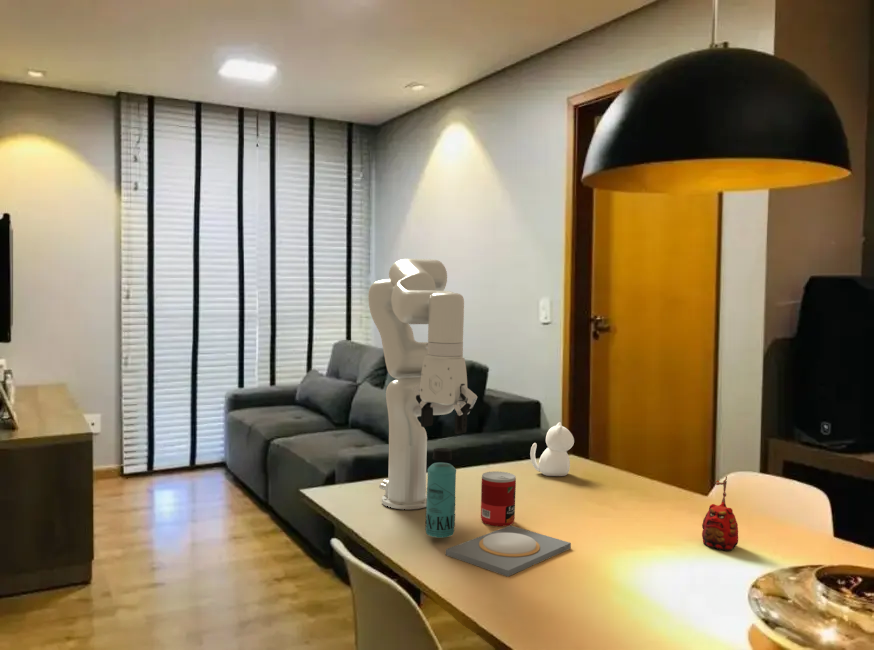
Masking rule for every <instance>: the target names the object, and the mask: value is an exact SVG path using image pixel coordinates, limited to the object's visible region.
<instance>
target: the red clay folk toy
mask: <svg viewBox="0 0 874 650" xmlns="http://www.w3.org/2000/svg"><path fill="white" fill-rule="evenodd" d="M727 479H728V476H727V475H725V478H724V480H723V482H721V481H720V480H716V481H715V482H716V484H715V485H716V486H720V485H722V486H723V492H722V496H723V497H722V500H721V503H720V504H719V505H718V504H715V503H712V504H710V505H709V508H708V511H707V512H706V513H705V516H704V518H703V521H702V523H701V526H702V532H701V537H702V543H703V545H706V546H707V547H711V548H715V549H716V550H718V551H726V552H727V551H728V552H731V551H732V550H733V549H734V548H736V547H737V546H738V543H739V527H738V526H739V525H738V521H737V519H736V515H735V514H734V512H733V508H731V507H727V505H726V497H727V493H726V489H727V484H728V483H727V482H728V480H727Z"/></svg>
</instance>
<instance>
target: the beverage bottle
mask: <svg viewBox="0 0 874 650" xmlns="http://www.w3.org/2000/svg"><path fill="white" fill-rule="evenodd" d="M452 453H453V452H452V449H450V448H447V447H436V448H433V454H432V460H435V461H439V462H434V463H432V464H431V465H430V466H428V467H427V469H426V472H427V478H426V494H427V502H426V503H427V504H426V507H425V518H424V519H425V524H424V525H425V533H426V535H427V536H430V537H433V538H439V539H440V538H448V537H451V536H453V535H454V533H455V530H456V528H455V527H456V513H457V512H456V479H457V478H456V477H457V476H456V475H457V470H456V467H454V465H452V464H451V463H448V462H445V461H451V460H452V459H453V456H452ZM440 461H441V462H440ZM443 461H444V462H443Z"/></svg>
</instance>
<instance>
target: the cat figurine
mask: <svg viewBox="0 0 874 650" xmlns="http://www.w3.org/2000/svg"><path fill="white" fill-rule="evenodd" d="M545 443H546V446H547V447H546V449H544V451H542V454H541V455H540V457H539V461H538V462H537V459H536V451H537V446H538V445H537V443H536V442H534V443H533V444H532V446H531V447H530V453H529V455H530V461H531V464H532V467H533V468H534V469H535V470H536V471H537V472H540V473H541V474H542V475H544V476H547V477H565V476H568V474H569V472H570V470H571V469H570V468H571V460H570V456H569V454H568V451H569V450H570V449H571V448H572V447H573V446H574V443H575V438H574V435H573V433H572V432H571V431H570V430H569V429H568V428H567V427H565V426H563V425H562V422H561V421H559V422H558V423H556V424H555V425H553V426H552V427H550V428H549V429H548V430H547V432H546V436H545Z"/></svg>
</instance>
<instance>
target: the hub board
mask: <svg viewBox="0 0 874 650" xmlns="http://www.w3.org/2000/svg"><path fill="white" fill-rule="evenodd" d="M571 547H572V543H571V542H570V541H566V540H563V539H559V538H556V537H553V536H549V535H546V534H545V535H544V534H542V533H538V532H535V531H533V530H532V531H531V530H528V529H525V528H521V527H517V526H514V525H512V524H511V525H509V526H503V527H502V528H499V529H497V530H493V531H491V532H488V533H485V534H483V535H481V536H478V537H476V538H475V537H474V538H473V539H470V540H468V541H464V542H461V543H459V544H456V545H454V546H450V547H449V548H446V549H445V556H448V557H451V558H452V559H456V560H459V561H462V562H465V563H467V564H471V565H473V566H476V567H479V568H482V569H485V570H488V571H490V572H493V573H496V574H499V575H502V576H505V577H510V576H513V575H514V574H517V573H520V572H522V571H523V570H526V569H528V568H530V567H533V566H535V565H537V564H539V563H541V561H542V562H543V560H544V561H545V559H546V560H548V559H550V558H553V557H555V556H557V555H559V554H562V553H563V552H566V551H568V550H570V549H571ZM552 556H553V557H552ZM534 564H535V565H534ZM532 565H533V566H532Z"/></svg>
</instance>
